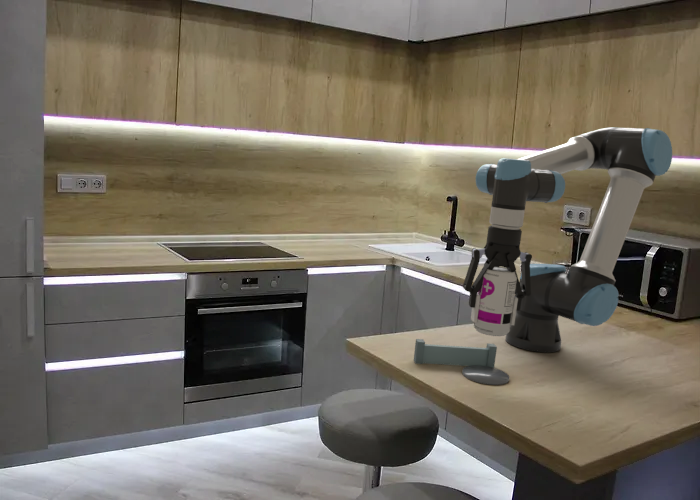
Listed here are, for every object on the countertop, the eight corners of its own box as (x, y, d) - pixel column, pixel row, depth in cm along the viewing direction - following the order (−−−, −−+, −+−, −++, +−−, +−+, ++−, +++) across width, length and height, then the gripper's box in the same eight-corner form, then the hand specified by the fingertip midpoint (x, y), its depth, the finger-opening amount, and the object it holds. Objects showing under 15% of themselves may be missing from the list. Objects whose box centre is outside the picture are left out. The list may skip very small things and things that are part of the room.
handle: (491, 364, 161) (494, 343, 160) (494, 368, 159) (496, 346, 158) (413, 360, 159) (416, 338, 159) (415, 363, 157) (417, 342, 156)
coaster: (500, 369, 159) (501, 366, 159) (515, 386, 148) (515, 383, 148) (457, 366, 158) (457, 364, 158) (468, 383, 147) (469, 381, 147)
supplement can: (483, 337, 146) (492, 272, 143) (467, 326, 154) (475, 264, 151) (515, 337, 148) (524, 273, 146) (498, 326, 156) (506, 266, 153)
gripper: (543, 228, 151) (529, 320, 155) (456, 220, 149) (444, 314, 153) (556, 232, 144) (541, 330, 148) (464, 225, 142) (452, 323, 146)
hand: (492, 322), depth 151 cm, fingers closed on supplement can, 8 cm apart
